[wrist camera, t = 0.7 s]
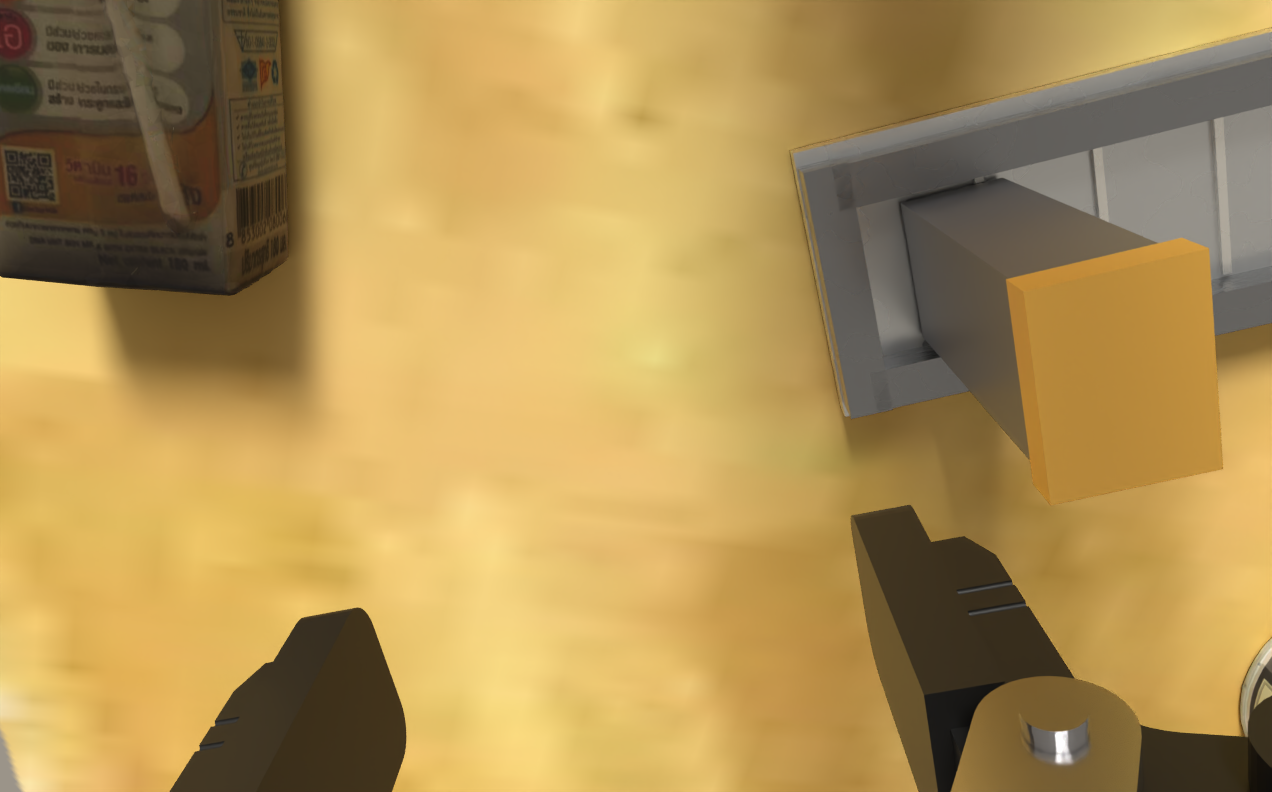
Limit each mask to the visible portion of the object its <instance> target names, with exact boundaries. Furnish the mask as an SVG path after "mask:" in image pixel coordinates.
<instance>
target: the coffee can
mask: <svg viewBox="0 0 1272 792" xmlns="http://www.w3.org/2000/svg"><path fill="white" fill-rule="evenodd" d="M1270 696H1272V638H1271V639H1270V640H1269V641H1268V642H1267V643H1266V644H1265V645H1264V646H1263V648H1262V649H1261V651H1260V652H1259V654H1258V655H1257V657H1256V658H1255V659H1254V661H1253V663H1252V665H1251V667H1250V669H1249V671H1248V673H1247V676H1246V678H1245V681H1244V683H1243V685H1242V694H1241V703H1240V716H1241V723H1242V727H1243V731H1244V734H1245V736H1246V737H1248V720H1249V717H1250V714H1251V713H1252V711H1253V710H1254V709H1255V707H1256V706H1257V705H1258V704H1259V703H1261V702H1262V701H1263V700H1264V699H1266V698H1268V697H1270Z"/></svg>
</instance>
